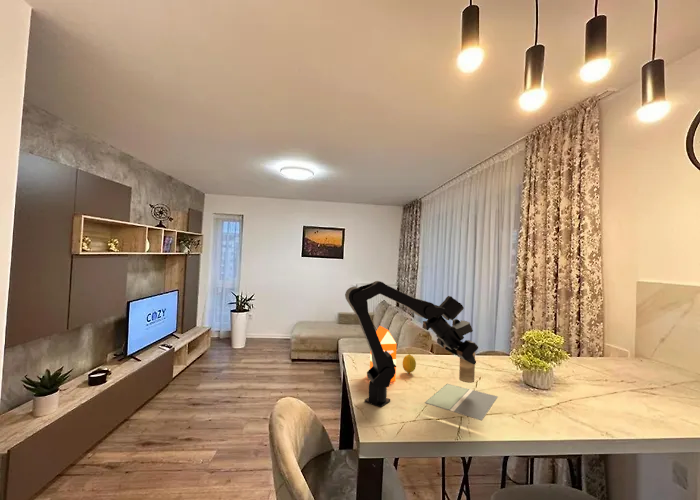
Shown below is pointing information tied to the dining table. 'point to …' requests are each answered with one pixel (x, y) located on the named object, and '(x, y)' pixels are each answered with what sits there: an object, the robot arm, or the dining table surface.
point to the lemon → (409, 363)
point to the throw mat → (463, 401)
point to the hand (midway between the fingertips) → (470, 361)
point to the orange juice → (386, 346)
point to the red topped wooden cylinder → (466, 371)
